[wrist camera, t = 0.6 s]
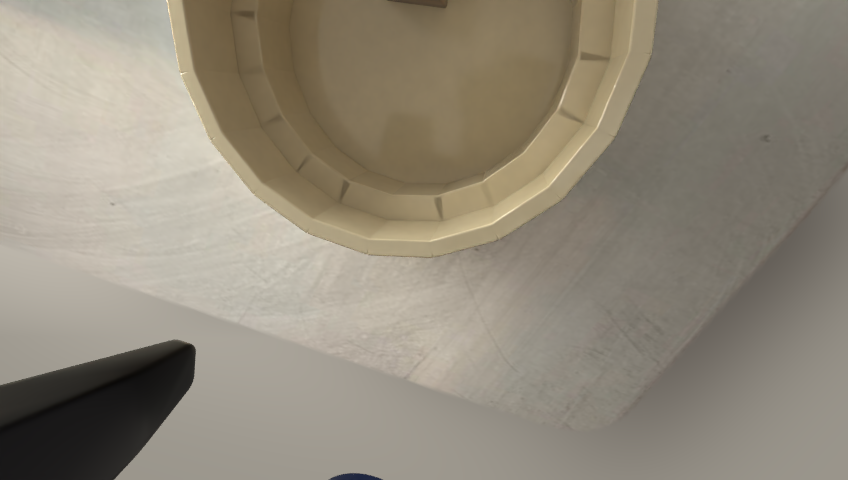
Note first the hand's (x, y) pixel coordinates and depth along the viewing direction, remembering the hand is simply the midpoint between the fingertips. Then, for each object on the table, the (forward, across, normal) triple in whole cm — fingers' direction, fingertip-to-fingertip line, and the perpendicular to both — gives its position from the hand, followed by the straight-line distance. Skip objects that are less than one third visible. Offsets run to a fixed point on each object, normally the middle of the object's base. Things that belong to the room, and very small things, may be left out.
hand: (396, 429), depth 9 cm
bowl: (+12, +4, -8) cm, 15 cm away
